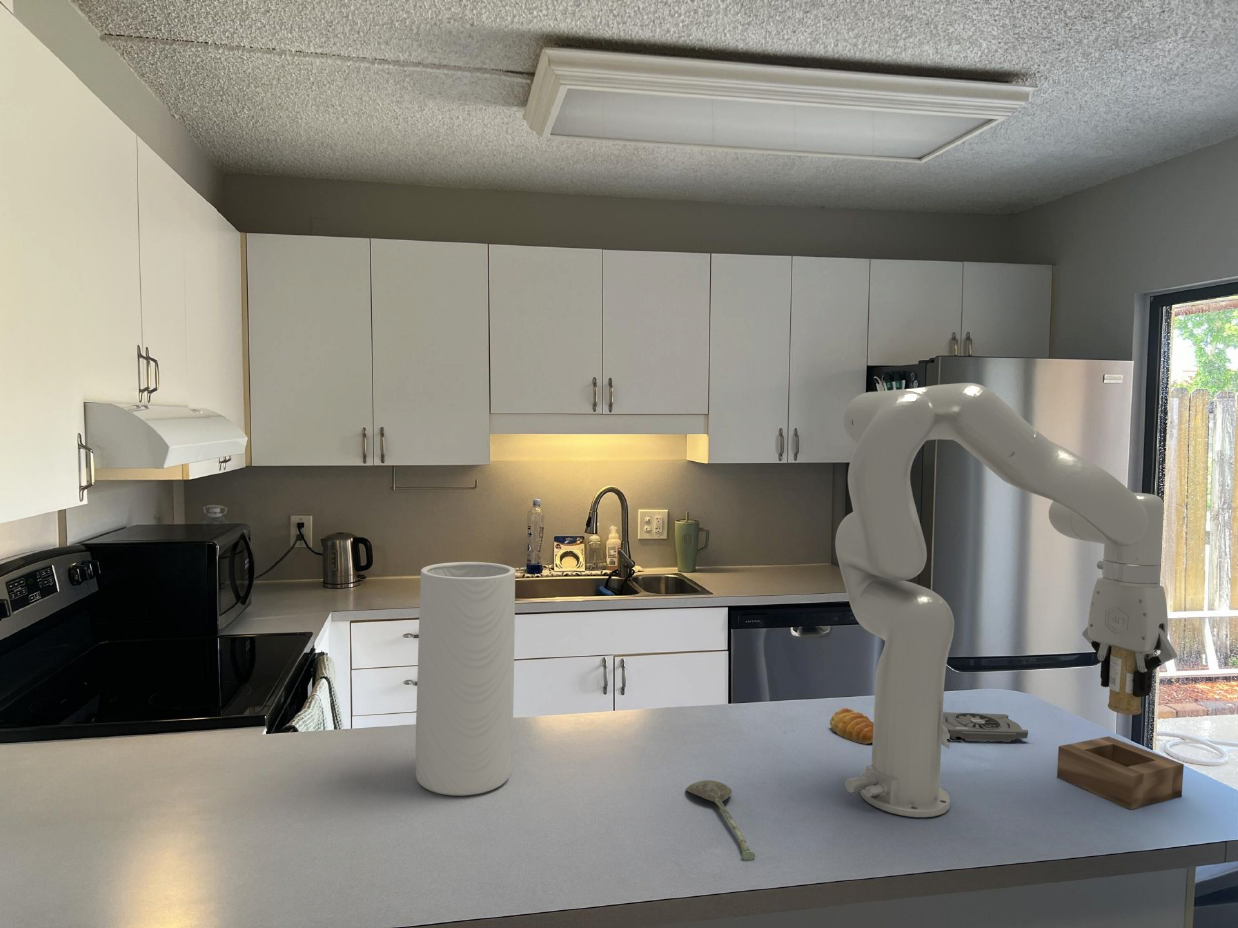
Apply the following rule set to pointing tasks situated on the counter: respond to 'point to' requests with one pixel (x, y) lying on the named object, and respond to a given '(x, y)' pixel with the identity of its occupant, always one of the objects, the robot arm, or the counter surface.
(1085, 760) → the walnut holder
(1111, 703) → the sprinkles bottle
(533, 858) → the counter surface
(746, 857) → the soupspoon
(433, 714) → the vase
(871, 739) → the pastry
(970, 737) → the graphics card
